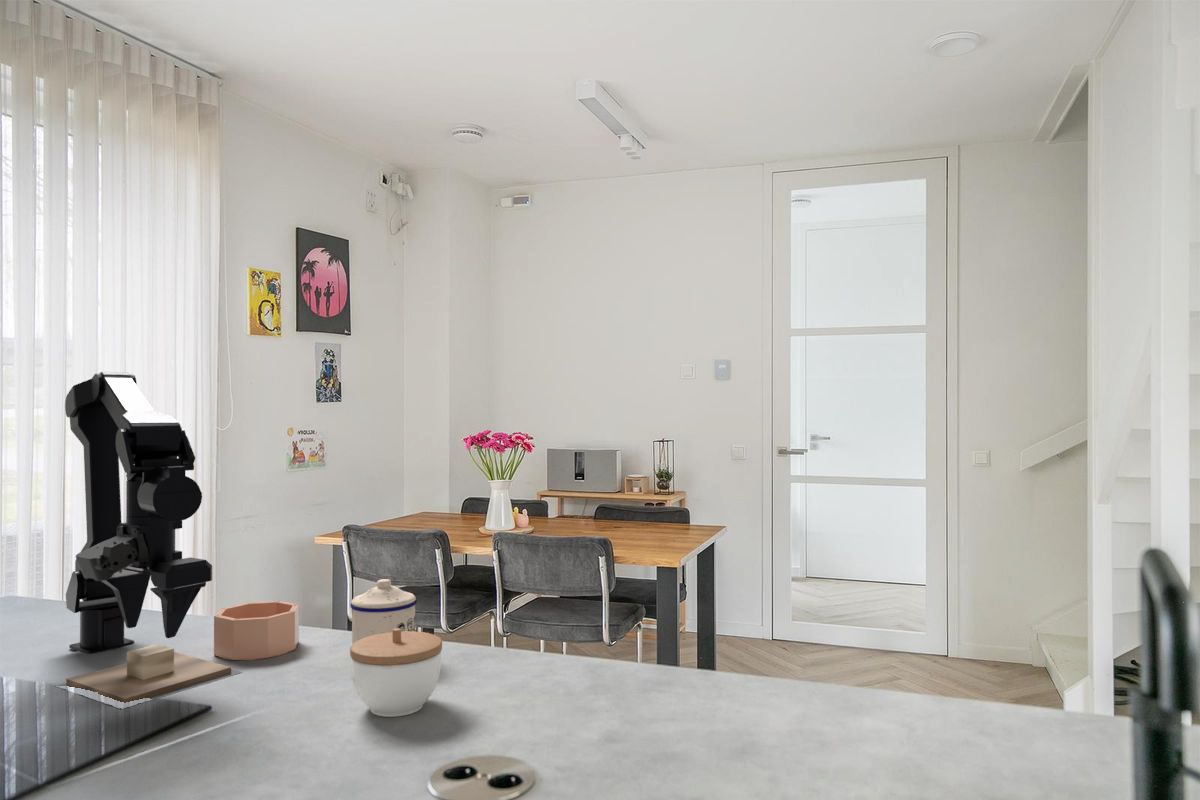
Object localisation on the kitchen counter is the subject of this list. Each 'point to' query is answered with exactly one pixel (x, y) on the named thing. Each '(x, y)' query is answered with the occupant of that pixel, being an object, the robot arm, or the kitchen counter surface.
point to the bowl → (256, 630)
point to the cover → (148, 674)
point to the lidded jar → (396, 671)
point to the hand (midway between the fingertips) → (150, 632)
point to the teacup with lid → (382, 611)
